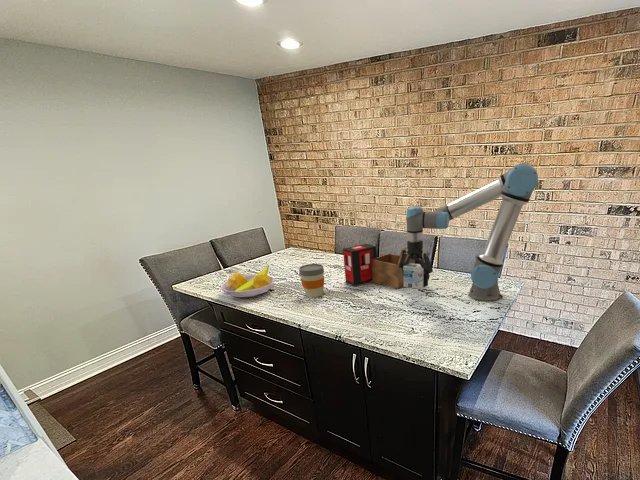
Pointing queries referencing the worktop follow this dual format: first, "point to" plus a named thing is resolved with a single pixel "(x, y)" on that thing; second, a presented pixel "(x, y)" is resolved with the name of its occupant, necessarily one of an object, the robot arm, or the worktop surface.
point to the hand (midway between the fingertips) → (415, 283)
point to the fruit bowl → (248, 284)
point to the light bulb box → (413, 276)
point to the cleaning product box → (359, 263)
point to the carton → (388, 271)
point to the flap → (401, 255)
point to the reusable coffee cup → (312, 279)
